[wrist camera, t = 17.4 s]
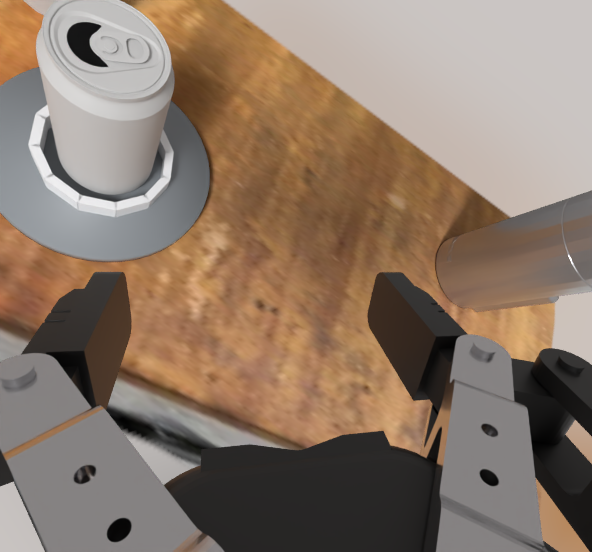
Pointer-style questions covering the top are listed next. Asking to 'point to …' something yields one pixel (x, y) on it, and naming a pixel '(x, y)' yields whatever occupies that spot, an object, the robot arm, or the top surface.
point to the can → (40, 5)
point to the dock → (86, 203)
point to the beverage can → (105, 91)
